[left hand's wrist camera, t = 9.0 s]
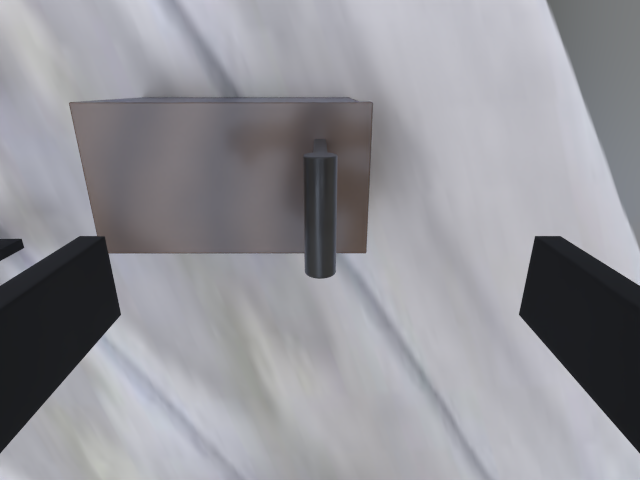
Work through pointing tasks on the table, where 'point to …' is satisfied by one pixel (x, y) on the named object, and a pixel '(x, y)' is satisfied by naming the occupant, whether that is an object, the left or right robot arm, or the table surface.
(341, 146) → the lid
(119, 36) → the table surface
